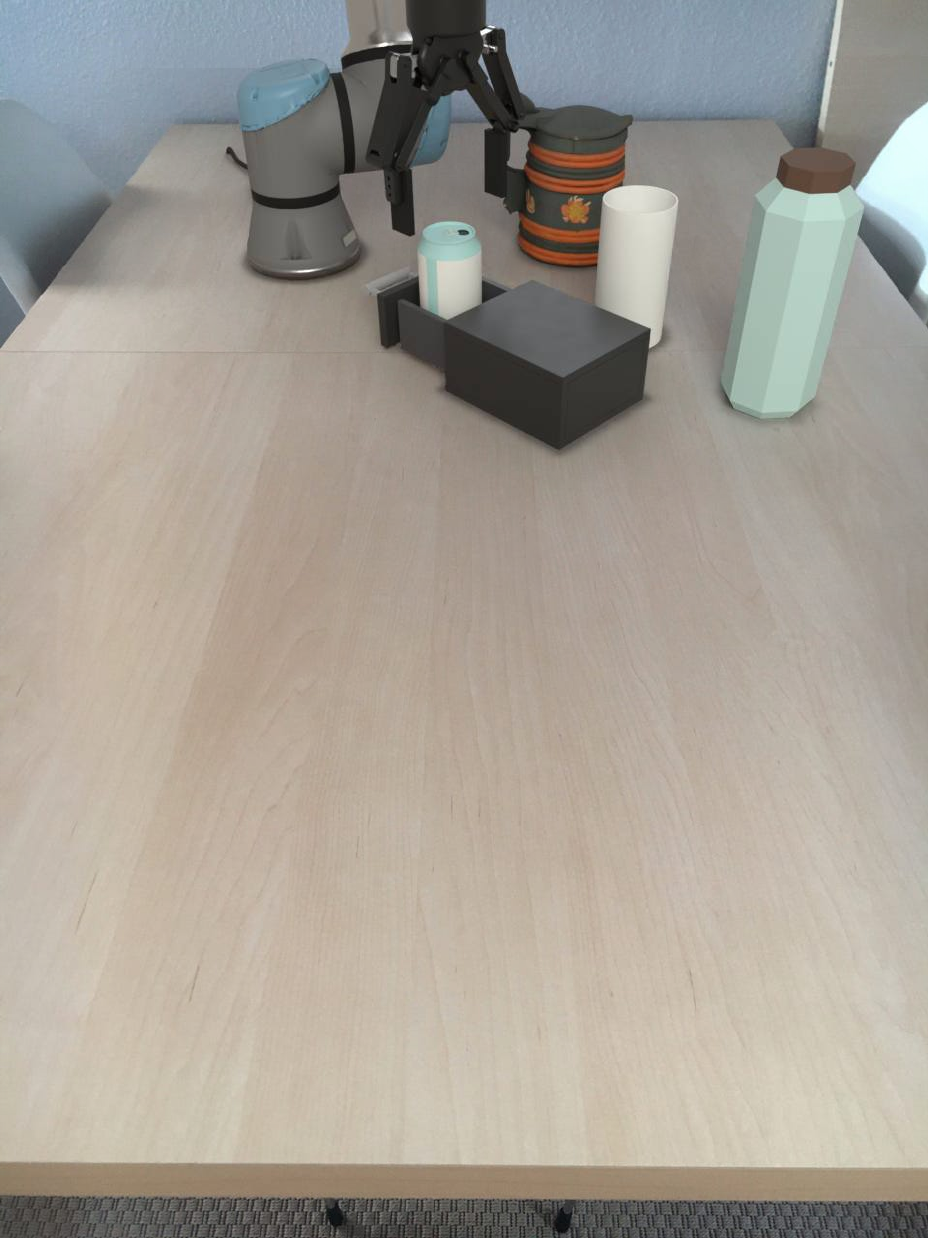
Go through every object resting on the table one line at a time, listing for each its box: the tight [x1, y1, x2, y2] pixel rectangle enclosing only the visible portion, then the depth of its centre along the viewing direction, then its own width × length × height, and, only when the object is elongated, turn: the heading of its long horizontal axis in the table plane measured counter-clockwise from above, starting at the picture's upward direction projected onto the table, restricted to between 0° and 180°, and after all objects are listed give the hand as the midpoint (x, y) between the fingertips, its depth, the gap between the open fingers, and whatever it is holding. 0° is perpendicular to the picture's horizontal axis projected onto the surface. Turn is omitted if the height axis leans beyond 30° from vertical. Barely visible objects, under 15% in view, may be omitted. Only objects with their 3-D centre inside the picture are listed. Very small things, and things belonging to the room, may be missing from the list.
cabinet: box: [444, 279, 651, 451], centre depth 106 cm, size 17×14×8 cm
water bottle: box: [720, 147, 865, 420], centre depth 99 cm, size 10×10×25 cm
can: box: [416, 220, 483, 320], centre depth 111 cm, size 7×7×12 cm
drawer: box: [361, 265, 512, 371], centre depth 114 cm, size 22×13×6 cm, turn 44°
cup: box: [593, 184, 679, 349], centre depth 113 cm, size 8×8×16 cm
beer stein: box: [491, 91, 634, 268], centre depth 130 cm, size 19×15×20 cm
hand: (451, 212), depth 106 cm, fingers open, 13 cm apart
